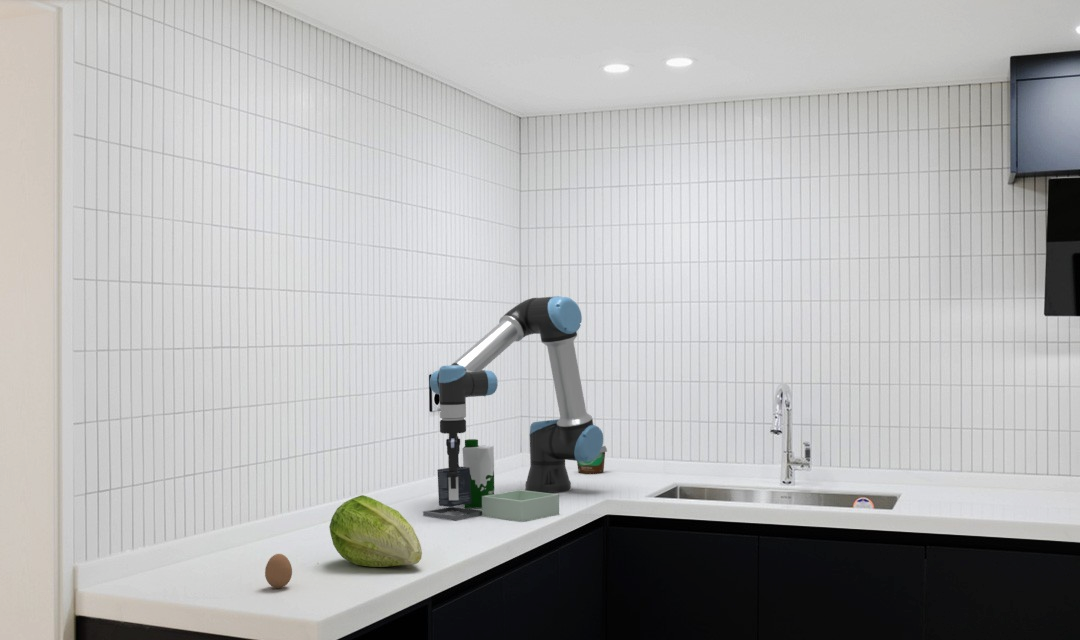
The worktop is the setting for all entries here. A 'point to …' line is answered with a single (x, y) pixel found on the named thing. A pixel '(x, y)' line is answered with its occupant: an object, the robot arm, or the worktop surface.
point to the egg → (278, 571)
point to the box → (463, 487)
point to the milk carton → (479, 470)
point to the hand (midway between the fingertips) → (454, 497)
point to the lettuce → (373, 534)
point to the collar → (438, 514)
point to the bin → (520, 505)
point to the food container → (593, 464)
